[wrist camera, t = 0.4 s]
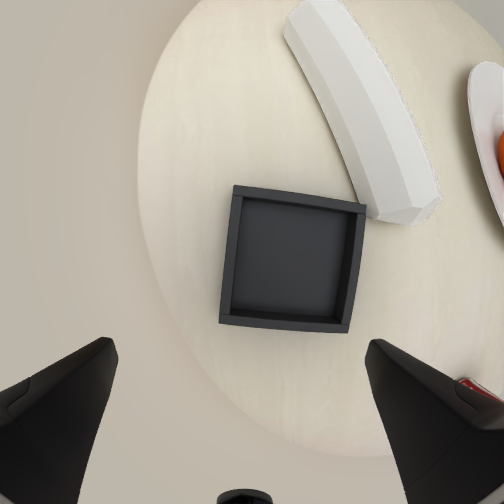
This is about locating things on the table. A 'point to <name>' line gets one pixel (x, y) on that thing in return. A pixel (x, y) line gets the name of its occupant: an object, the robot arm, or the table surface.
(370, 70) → the crystal
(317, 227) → the dark grey square tray
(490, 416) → the robot arm
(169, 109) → the table surface
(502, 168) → the plate
